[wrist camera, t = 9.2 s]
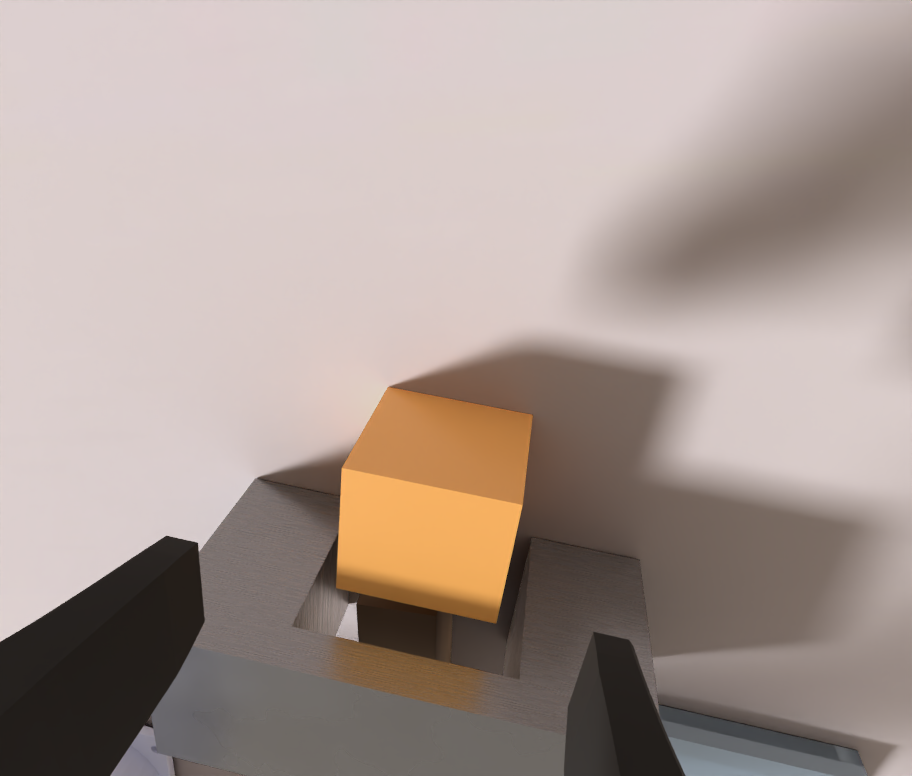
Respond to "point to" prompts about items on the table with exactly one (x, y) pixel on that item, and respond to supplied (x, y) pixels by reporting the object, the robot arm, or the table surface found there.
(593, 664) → the robot arm
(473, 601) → the orange cube
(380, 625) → the push rod
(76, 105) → the table surface
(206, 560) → the grey bridge block
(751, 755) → the tray
